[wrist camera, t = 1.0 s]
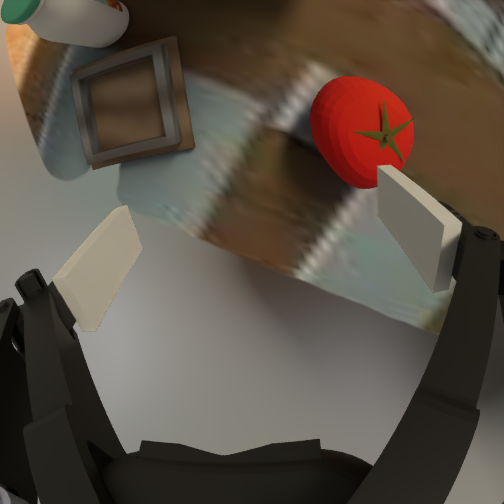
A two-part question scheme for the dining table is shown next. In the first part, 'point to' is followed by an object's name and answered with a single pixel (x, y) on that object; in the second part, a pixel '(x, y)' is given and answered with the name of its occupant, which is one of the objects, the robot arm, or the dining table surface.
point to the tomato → (360, 129)
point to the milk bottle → (70, 20)
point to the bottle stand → (133, 104)
